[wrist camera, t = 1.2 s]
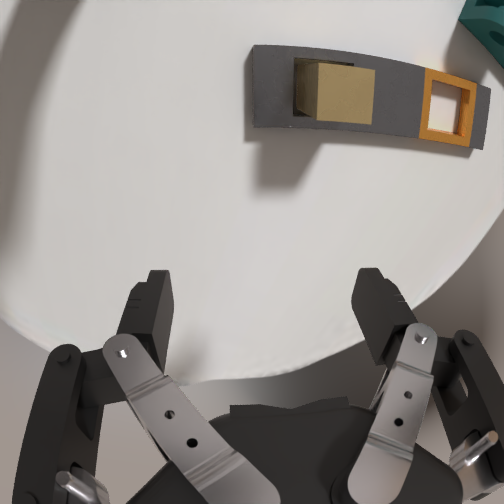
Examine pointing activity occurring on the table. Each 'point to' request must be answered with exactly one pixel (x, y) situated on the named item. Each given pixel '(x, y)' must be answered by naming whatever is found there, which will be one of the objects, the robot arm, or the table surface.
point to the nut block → (335, 92)
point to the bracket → (486, 24)
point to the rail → (384, 102)
